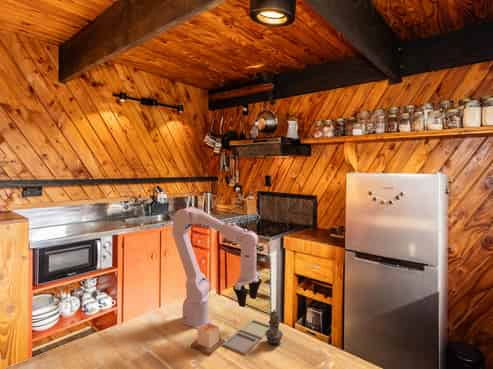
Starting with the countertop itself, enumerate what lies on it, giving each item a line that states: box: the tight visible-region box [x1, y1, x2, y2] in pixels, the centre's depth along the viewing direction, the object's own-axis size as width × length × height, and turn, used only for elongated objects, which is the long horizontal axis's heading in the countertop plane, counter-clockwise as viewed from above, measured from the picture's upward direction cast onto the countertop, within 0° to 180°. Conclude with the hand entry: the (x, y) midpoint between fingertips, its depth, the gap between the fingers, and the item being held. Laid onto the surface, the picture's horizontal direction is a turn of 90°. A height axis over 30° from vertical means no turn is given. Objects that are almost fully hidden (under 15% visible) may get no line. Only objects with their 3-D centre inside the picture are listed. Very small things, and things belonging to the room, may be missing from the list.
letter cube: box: [197, 322, 220, 348], centre depth 98 cm, size 5×5×5 cm
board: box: [190, 337, 226, 356], centre depth 98 cm, size 8×8×1 cm
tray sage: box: [239, 318, 270, 340], centre depth 108 cm, size 9×9×1 cm
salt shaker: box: [265, 309, 283, 348], centre depth 99 cm, size 6×6×12 cm
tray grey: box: [222, 330, 261, 356], centre depth 99 cm, size 9×9×1 cm
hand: (247, 302), depth 107 cm, fingers open, 7 cm apart
